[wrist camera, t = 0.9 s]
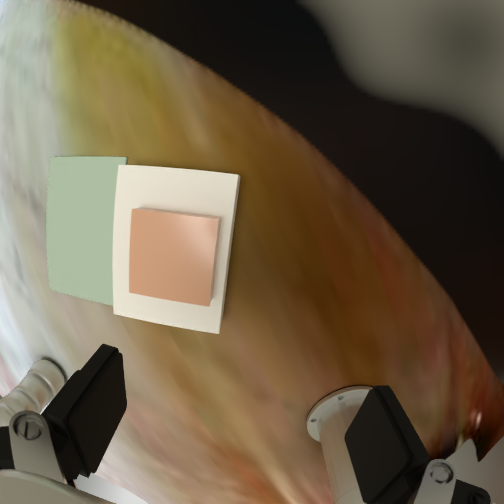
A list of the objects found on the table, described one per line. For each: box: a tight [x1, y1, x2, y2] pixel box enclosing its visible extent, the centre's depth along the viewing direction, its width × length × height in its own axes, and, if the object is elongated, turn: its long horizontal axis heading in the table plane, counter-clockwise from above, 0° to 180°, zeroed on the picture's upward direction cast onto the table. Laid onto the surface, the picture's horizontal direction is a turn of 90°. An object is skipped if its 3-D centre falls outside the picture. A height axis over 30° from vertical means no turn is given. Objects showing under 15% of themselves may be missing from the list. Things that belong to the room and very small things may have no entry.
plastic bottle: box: [0, 360, 65, 427], centre depth 26 cm, size 6×7×20 cm
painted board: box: [112, 165, 241, 334], centre depth 29 cm, size 12×16×4 cm
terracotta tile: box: [129, 207, 222, 307], centre depth 26 cm, size 8×8×2 cm
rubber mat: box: [46, 156, 128, 306], centre depth 30 cm, size 12×18×1 cm, turn 172°
